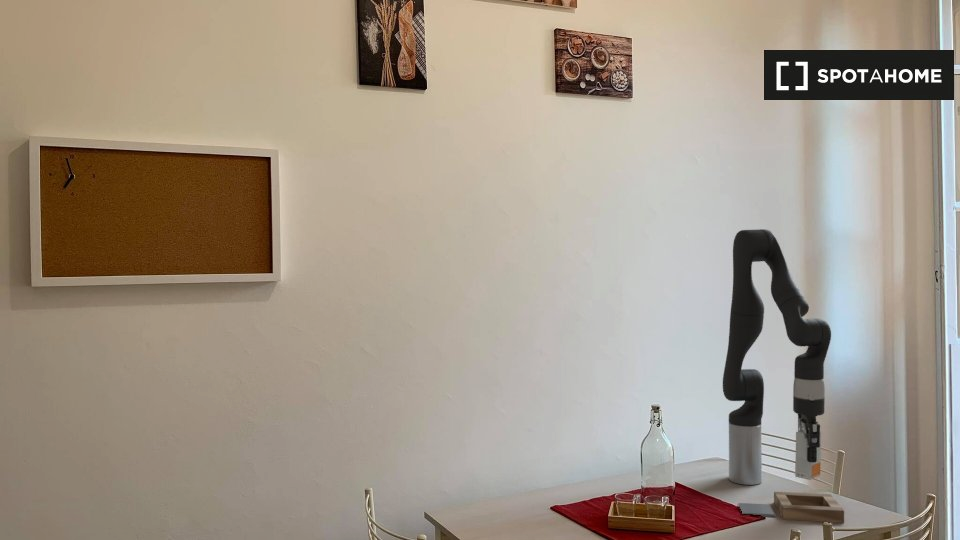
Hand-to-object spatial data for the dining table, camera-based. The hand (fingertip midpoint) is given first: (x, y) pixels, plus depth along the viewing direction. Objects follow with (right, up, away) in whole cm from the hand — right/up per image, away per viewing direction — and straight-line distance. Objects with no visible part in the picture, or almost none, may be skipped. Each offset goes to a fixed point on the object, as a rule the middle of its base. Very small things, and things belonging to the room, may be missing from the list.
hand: (808, 457), depth 201 cm
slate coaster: (-13, -14, +2) cm, 20 cm away
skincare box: (0, -5, 0) cm, 5 cm away
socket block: (0, -14, 0) cm, 14 cm away
